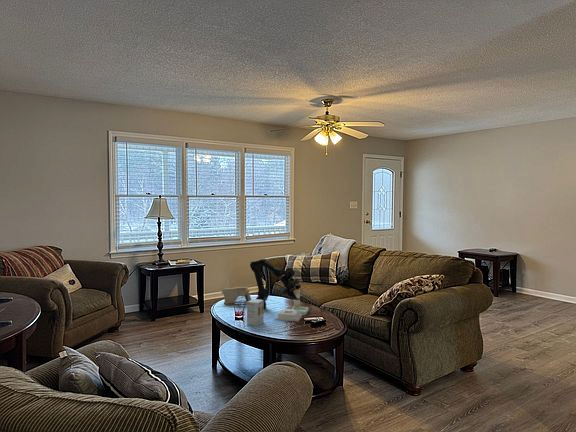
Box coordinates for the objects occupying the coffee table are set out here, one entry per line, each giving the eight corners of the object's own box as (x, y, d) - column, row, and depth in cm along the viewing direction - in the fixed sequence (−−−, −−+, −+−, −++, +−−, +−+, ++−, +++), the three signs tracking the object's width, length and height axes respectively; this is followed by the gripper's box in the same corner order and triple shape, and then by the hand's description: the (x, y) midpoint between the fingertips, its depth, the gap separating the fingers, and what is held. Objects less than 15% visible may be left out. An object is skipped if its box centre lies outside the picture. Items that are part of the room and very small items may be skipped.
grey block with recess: (274, 319, 295) (274, 313, 295) (279, 314, 308) (279, 308, 308) (298, 321, 290) (298, 315, 290) (302, 315, 304) (302, 310, 304)
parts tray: (290, 314, 308) (290, 310, 308) (294, 309, 320) (293, 306, 320) (305, 315, 305) (305, 311, 305) (308, 310, 317) (308, 307, 317)
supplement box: (257, 326, 280) (257, 303, 279) (246, 324, 284) (246, 301, 283) (264, 322, 289) (263, 299, 288) (252, 321, 292) (252, 298, 291)
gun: (252, 303, 339) (250, 286, 339) (251, 304, 336) (249, 287, 335) (224, 305, 342) (222, 288, 341) (223, 306, 338) (221, 289, 338)
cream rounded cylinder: (293, 307, 302) (293, 290, 301) (293, 305, 307) (293, 289, 306) (300, 307, 302) (300, 290, 301) (300, 305, 307) (300, 289, 306)
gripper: (285, 278, 298) (297, 294, 292) (299, 274, 313) (311, 289, 307) (277, 287, 303) (289, 303, 297) (291, 282, 318) (302, 298, 312)
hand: (298, 298), depth 303 cm, fingers closed on cream rounded cylinder, 4 cm apart
